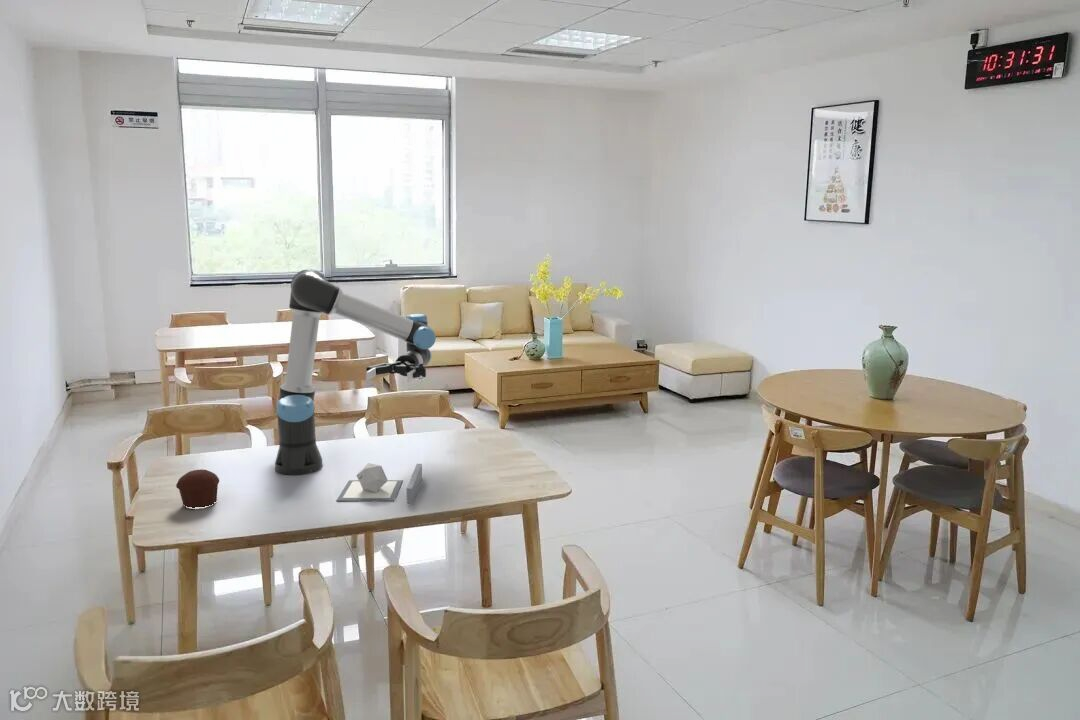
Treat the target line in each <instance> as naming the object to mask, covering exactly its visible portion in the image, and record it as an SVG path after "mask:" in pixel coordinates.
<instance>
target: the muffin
mask: <svg viewBox="0 0 1080 720" xmlns="http://www.w3.org/2000/svg"><path fill="white" fill-rule="evenodd" d="M219 483H220V478H219V476H217V474H216V473H214V472H213V471H210V470H207V469H195V470H190V471H188V472H187V473H185V474H183V475H182V476H180V478H179V479H178V480H177V483H176V485H175V488H177V489H178V490H179V495H180V498H181V501H182V505H183V504H184V505H185V506H187V507H192V508H195V507H205V506H209V505H212V504H214V502H216V501H217V498H218V486H219ZM216 503H217V502H216ZM214 505H215V504H214Z"/></svg>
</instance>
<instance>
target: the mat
mask: <svg viewBox="0 0 1080 720" xmlns="http://www.w3.org/2000/svg"><path fill="white" fill-rule="evenodd" d="M387 480H388V481H387V482H386V483H385V484H384V485H383V486H382V487H381V488H380V489H379V490H378V491H377V492H376V493H375V492H371V491H366V490H363V489H362V486H361V484H360V482H359V480H355V479H353V480H352V479H349V480H348V481H347V483H346V485H345V486H344V487H343V489H342V491H341V492H340V494H339V496H337V498H336V500H335V501H336V502H338V503H339V502H341V503H342V502H343V503H346V502H354V503H355V502H356V503H357V502H361V503H362V502H371V503H372V502H374V503H375V502H395V500H396V498H397V496H398V494H399V491H400V489H401V487H402V484H403V482H404V480H402V479H397V480H396V479H390V480H389V479H387Z"/></svg>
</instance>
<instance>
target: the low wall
mask: <svg viewBox="0 0 1080 720" xmlns="http://www.w3.org/2000/svg"><path fill="white" fill-rule="evenodd" d="M422 481H423V464H422V463H416V465H415V467H414V470H413V471H412V475H411V477H410V479H409V481H408V484H407V487H406V505H408V506H409V505H410V506H411V505H413V504H414V501H415V500H416V496H417V493H418V491H419V488H420V486H421V483H422Z"/></svg>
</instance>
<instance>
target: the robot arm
mask: <svg viewBox="0 0 1080 720" xmlns="http://www.w3.org/2000/svg"><path fill="white" fill-rule="evenodd" d="M289 297H290V298H289V306H288V308H289V310H290V311H291V312H292V322H291V328H290V329H291V331H290V338H289V347H288V348H289V349H288V357H287V365H286V371H285V372H286V374H285V381H284V383H282V384H281V385H280V386H279V395H278V401H277V403H276V408H275V409H276V410H275V411H276V415H277V431H278V433H277V434H278V445H279V446H278V451H277V454H276V457H275V458H276V459H275V461H274V466H275V467H274V470H275V472H277V473H279V474H282V475H291V476H292V475H294V476H295V475H296V476H297V475H305V474H309V473H314V472H316V471H318V470H320V469H321V468H322V467H323V458H322V455H321V451H320V450H319V447H318V445H317V440H316V439H317V438H316V437H317V436H316V419H315V397H316V396H315V394H316V389H315V387H314V386H313V385H312V383H313V374H314V364H315V357H316V348H317V339H318V331H319V322H320V317H321V316H322V315H323V314H327V315H329V316H330V315H332V314H334V315H338V316H340V317H343V318H345V319H348V320H351V321H353V322H355V323H358V324H360V325H362V326H366V327H368V328H370V329H374V330H376V331H378V332H381V333H384V334H386V335H388V336H391V337H394V338H395V339H398V340H401V341H404V342H406V352H405V353H402V355H400V356H398V357H397V358H396V360H395V362H391V363H389V362H387V361H385V362H382V363H379V364H374V365H370V366H366V369H365V370H366V372H365V375H366V376H365V379H366V381H370V380H372V379H374V378H375V377H376V376H377V375H383V374H391V375H394V374H399V375H400V376H403V377H406V381H407V383H410V382H412V381H413V380H414V379H415V380H416V379H417V378H420V377H423V378H426V377H427V373H426V372H427V370H426V368H425V367H426V366H428V364H429V363H430V362H431V360H432V351H431V350H430V349H431V348H432V347H433V346H434V345H435V343H436V341H437V340H436V338H437V337H436V333H435V331H434V330H433V329H432V328H431V327H430V326H428V323H429V321H428V316H427V315H426V314H422V313H413V314H412V313H411V314H408V315H406V317H405V316H403V315H400V314H398V313H396V312H394V311H390V310H389V309H385V308H383V307H381V306H378V305H376V304H373V303H372V302H371V303H370V302H369V301H366V300H364V299H362V298H358V297H356V296H354V295H352V294H349V293H347V292H344V291H343V290H342V288H341V287H340V286H337V285H335V284H334V283H331V282H330V281H328V280H327V278H326V277H325V276H324V275H323V274H322V273H321V272H320V271H318V270H314V269H308V268H306V269H303V270H301V271H298V272H297V273H296V274H295V275H294V276H293V278H292V279H291V281H290V296H289Z"/></svg>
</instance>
